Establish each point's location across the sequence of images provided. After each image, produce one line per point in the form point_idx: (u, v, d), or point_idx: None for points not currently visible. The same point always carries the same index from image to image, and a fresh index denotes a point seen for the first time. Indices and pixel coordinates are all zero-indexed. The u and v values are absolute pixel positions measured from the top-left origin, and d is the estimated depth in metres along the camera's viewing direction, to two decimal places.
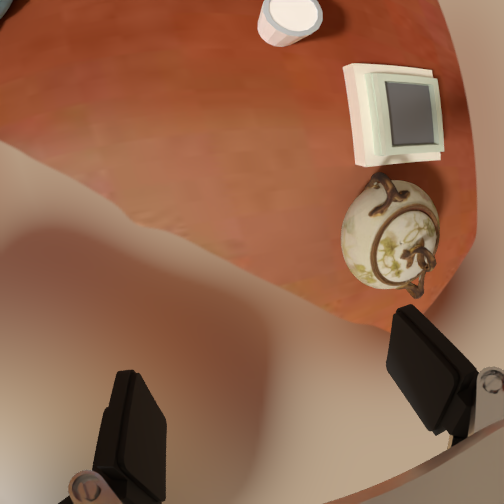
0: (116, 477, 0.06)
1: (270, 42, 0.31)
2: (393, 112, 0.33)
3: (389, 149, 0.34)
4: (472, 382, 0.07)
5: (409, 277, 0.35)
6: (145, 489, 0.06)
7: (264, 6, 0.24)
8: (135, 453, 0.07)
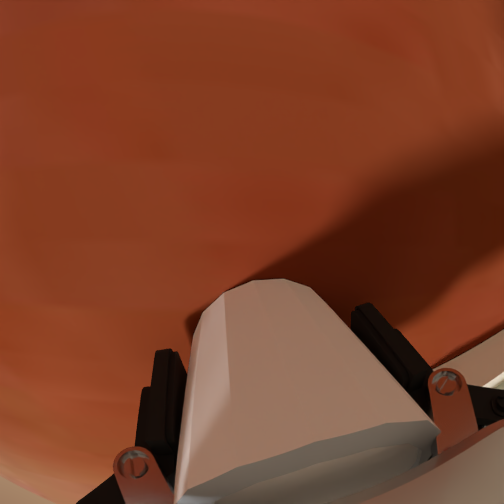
0: (162, 452, 0.06)
1: None
2: None
3: None
4: (426, 382, 0.07)
5: None
6: None
7: None
8: (179, 427, 0.07)
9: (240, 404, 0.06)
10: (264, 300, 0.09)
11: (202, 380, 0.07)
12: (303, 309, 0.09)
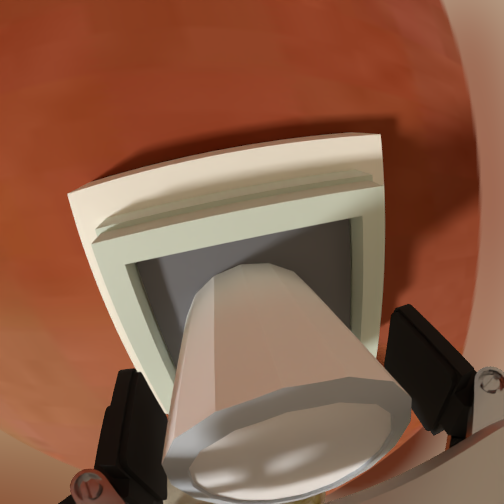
0: (118, 476, 0.06)
1: None
2: None
3: None
4: (470, 382, 0.07)
5: None
6: (147, 488, 0.06)
7: (171, 475, 0.06)
8: (137, 452, 0.07)
9: (222, 362, 0.07)
10: (249, 280, 0.10)
11: (191, 348, 0.08)
12: (283, 287, 0.10)
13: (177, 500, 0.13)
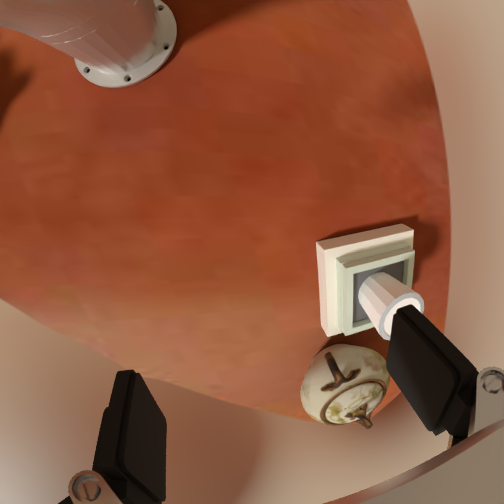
0: (116, 477, 0.06)
1: None
2: None
3: (349, 330, 0.40)
4: (472, 382, 0.07)
5: (354, 420, 0.41)
6: (145, 489, 0.06)
7: (380, 321, 0.32)
8: (135, 453, 0.07)
9: (389, 293, 0.33)
10: (383, 277, 0.36)
11: (377, 293, 0.34)
12: (392, 278, 0.36)
13: (342, 371, 0.39)
